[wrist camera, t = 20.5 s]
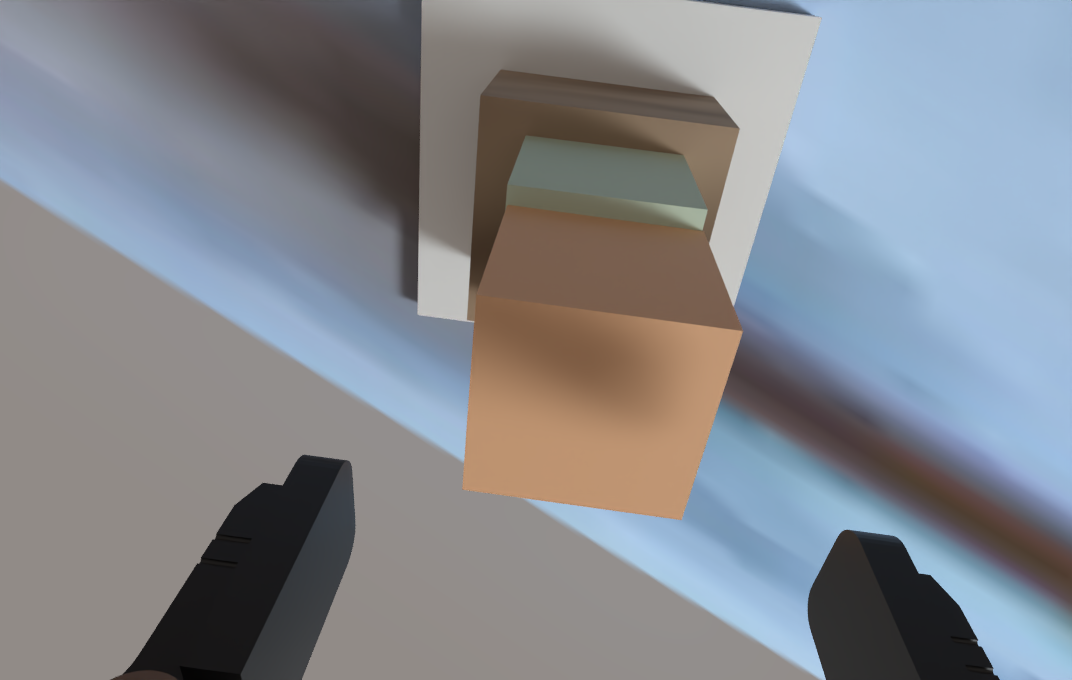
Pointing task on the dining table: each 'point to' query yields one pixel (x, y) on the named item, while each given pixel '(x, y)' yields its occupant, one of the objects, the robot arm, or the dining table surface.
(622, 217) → the sage block
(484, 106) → the walnut base block
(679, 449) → the terracotta block
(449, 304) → the grey plate
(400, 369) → the dining table surface
